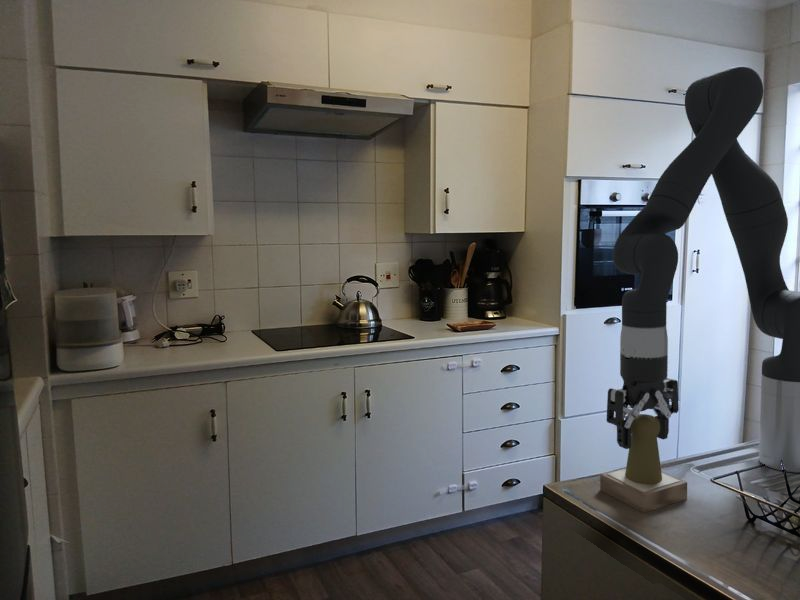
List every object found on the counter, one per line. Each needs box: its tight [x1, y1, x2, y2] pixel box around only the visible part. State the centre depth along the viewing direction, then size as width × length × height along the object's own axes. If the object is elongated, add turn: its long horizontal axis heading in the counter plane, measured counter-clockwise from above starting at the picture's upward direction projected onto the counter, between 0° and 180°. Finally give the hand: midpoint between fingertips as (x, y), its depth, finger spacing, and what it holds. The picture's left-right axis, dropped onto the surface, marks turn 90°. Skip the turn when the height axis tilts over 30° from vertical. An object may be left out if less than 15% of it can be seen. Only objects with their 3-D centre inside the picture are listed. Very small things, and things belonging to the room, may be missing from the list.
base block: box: [599, 466, 688, 514], centre depth 107 cm, size 10×10×3 cm
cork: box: [625, 413, 662, 484], centre depth 107 cm, size 6×6×11 cm
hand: (643, 442), depth 106 cm, fingers open, 8 cm apart
